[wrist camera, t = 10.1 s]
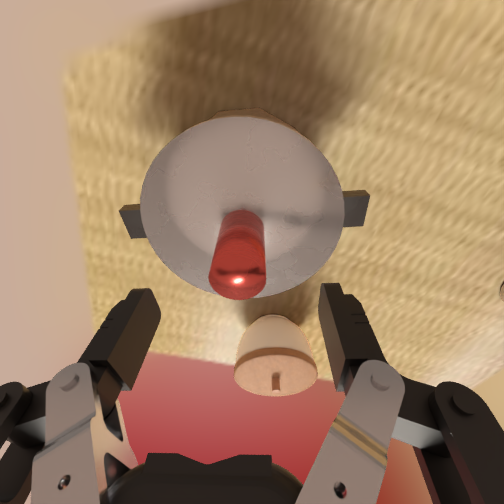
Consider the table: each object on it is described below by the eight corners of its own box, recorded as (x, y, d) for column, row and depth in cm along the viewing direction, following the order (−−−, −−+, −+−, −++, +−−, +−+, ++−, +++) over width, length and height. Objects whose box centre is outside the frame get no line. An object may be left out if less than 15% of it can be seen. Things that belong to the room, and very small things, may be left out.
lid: (354, 105, 14) (419, 126, 8) (324, 281, 22) (347, 351, 16) (120, 119, 14) (35, 148, 9) (175, 285, 22) (149, 354, 17)
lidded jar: (244, 349, 41) (241, 411, 33) (230, 307, 35) (223, 372, 27) (308, 344, 40) (320, 407, 32) (306, 299, 33) (320, 365, 26)
